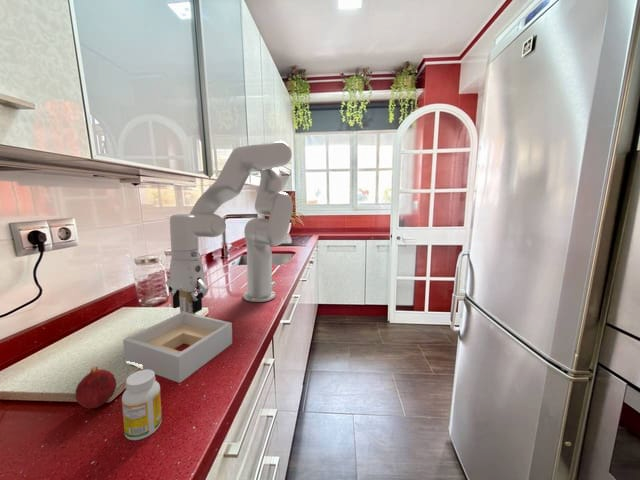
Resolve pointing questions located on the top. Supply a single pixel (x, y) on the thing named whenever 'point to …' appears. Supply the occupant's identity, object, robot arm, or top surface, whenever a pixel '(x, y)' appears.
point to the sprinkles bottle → (185, 301)
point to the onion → (95, 388)
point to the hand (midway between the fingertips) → (187, 308)
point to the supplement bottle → (141, 405)
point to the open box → (167, 335)
